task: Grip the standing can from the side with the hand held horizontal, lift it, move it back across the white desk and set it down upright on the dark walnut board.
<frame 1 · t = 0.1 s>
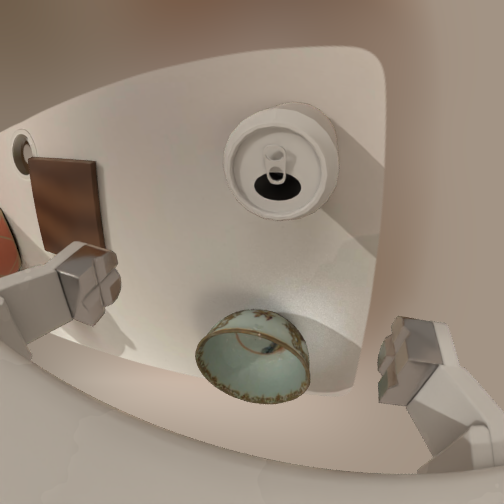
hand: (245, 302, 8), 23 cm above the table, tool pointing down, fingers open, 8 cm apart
bowl: (266, 325, 41), on the table
board: (66, 210, 39), on the table
can: (297, 139, 28), on the table
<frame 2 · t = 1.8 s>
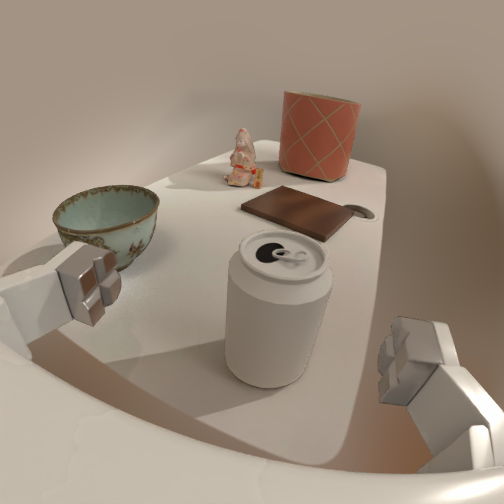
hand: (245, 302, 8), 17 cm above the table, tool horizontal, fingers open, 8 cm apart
figurine: (242, 183, 66), on the table
bowl: (113, 260, 38), on the table
planter: (311, 171, 79), on the table
board: (300, 212, 55), on the table
can: (264, 361, 28), on the table
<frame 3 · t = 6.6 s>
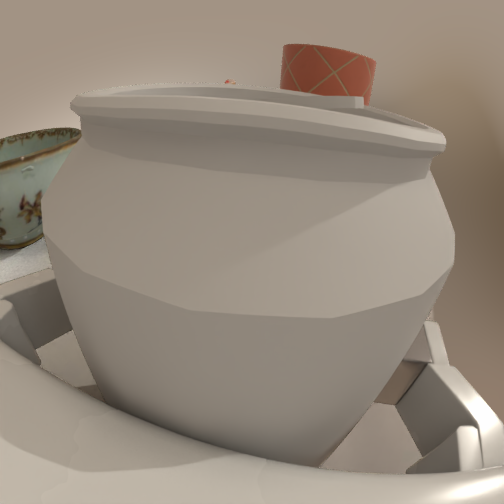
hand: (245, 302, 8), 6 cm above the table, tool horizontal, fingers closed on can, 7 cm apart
bowl: (23, 233, 22), on the table
planter: (317, 143, 62), on the table
can: (227, 433, 11), on the table, touching gripper
when the fingers open (7 cm above the table, at t = 16.9 s): can stays where it is, resting on board.
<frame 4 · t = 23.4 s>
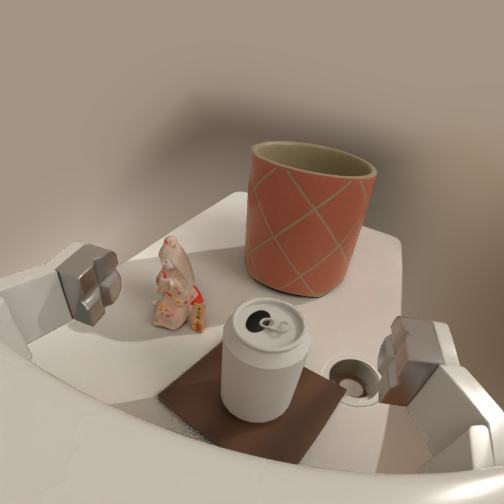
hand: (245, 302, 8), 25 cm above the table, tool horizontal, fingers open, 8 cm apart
figurine: (178, 317, 42), on the table
planter: (294, 268, 55), on the table
board: (255, 401, 32), on the table
can: (255, 397, 31), point 1 cm above the table, touching board
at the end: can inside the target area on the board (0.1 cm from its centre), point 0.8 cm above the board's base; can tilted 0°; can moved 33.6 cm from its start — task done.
